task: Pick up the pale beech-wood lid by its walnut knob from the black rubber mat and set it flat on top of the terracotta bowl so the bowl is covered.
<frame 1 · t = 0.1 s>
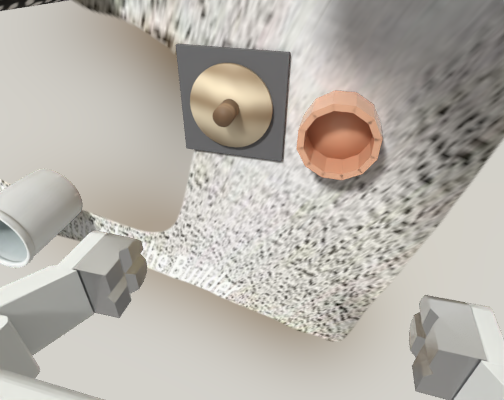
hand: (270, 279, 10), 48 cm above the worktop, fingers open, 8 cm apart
utensil holder: (57, 192, 83), on the worktop
lid: (231, 106, 58), point 1 cm above the worktop, touching mat
bowl: (339, 128, 56), on the worktop
mat: (233, 104, 59), on the worktop
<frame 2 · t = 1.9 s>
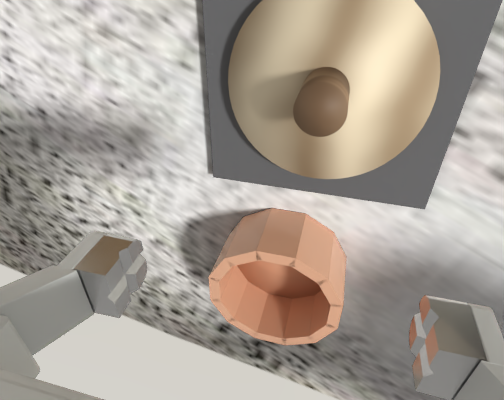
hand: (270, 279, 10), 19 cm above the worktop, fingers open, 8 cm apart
lid: (326, 86, 25), point 1 cm above the worktop, touching mat
bowl: (284, 257, 36), on the worktop
mat: (327, 83, 25), on the worktop
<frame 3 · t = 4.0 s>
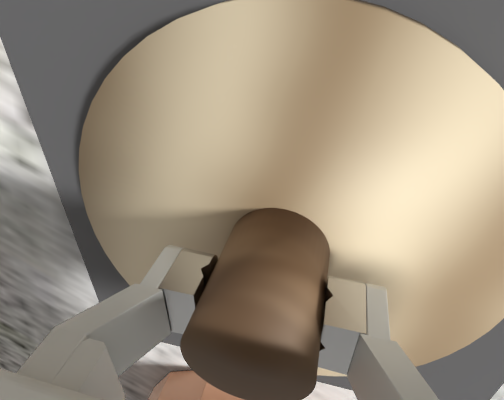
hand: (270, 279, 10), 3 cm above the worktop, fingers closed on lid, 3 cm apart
lid: (284, 229, 12), point 1 cm above the worktop, touching gripper, mat
mat: (287, 215, 13), on the worktop
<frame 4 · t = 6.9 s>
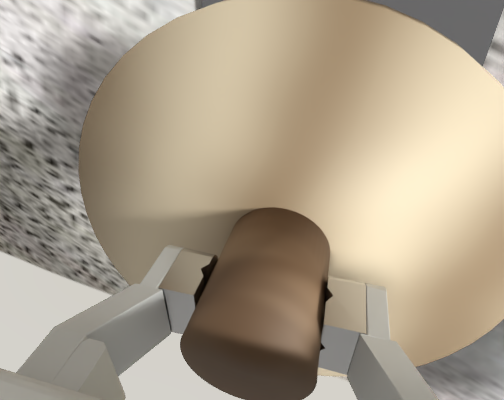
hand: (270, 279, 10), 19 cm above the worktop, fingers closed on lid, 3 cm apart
lid: (284, 228, 12), point 17 cm above the worktop, touching gripper
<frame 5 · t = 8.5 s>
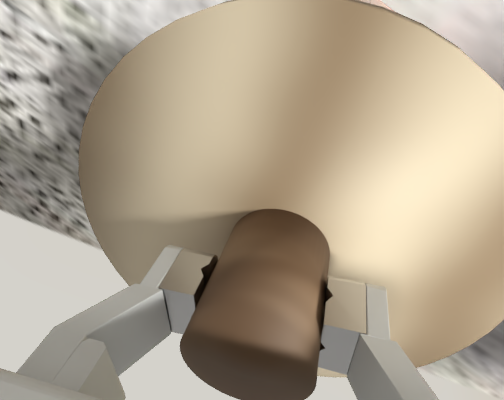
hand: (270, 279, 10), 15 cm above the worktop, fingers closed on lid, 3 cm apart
lid: (284, 230, 12), point 13 cm above the worktop, touching gripper
when the fingers open (10 cm above the worktop, at t = 9.7 s): lid drops 1 cm, resting on bowl.
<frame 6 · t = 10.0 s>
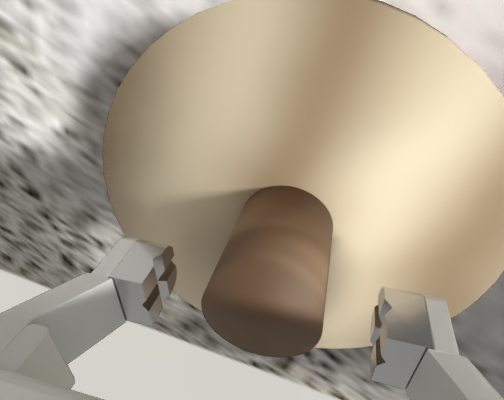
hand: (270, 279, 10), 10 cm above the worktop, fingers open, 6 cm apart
lid: (290, 208, 13), point 6 cm above the worktop, touching bowl
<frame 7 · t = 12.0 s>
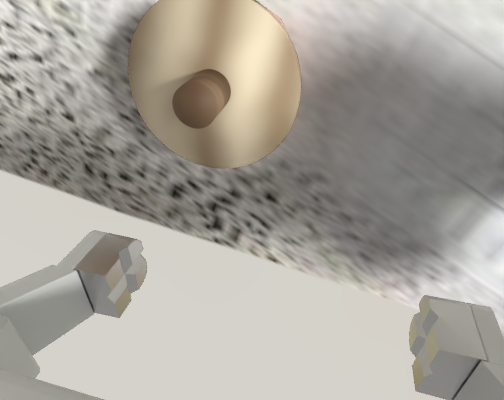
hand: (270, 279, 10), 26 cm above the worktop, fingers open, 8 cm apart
lid: (214, 86, 28), point 6 cm above the worktop, touching bowl
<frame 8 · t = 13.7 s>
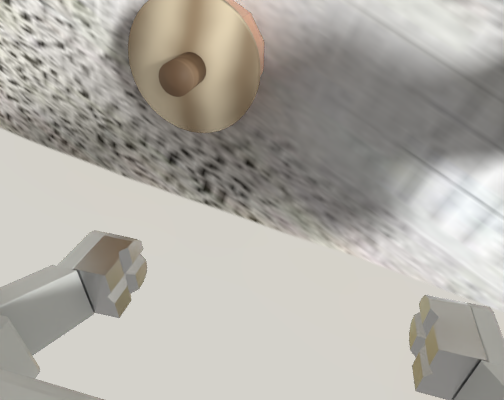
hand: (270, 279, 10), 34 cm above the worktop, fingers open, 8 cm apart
lid: (195, 66, 36), point 6 cm above the worktop, touching bowl
bowl: (214, 53, 41), on the worktop
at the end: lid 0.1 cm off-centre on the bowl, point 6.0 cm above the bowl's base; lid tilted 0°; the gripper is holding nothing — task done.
